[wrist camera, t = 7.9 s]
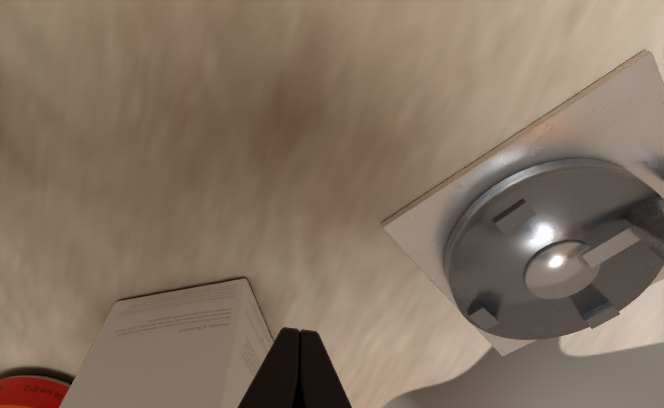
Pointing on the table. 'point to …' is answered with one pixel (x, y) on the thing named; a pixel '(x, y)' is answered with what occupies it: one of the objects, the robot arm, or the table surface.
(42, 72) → the table surface
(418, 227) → the flange plate
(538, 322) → the metal joystick
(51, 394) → the soda can
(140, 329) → the supplement box
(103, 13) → the table surface
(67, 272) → the table surface
